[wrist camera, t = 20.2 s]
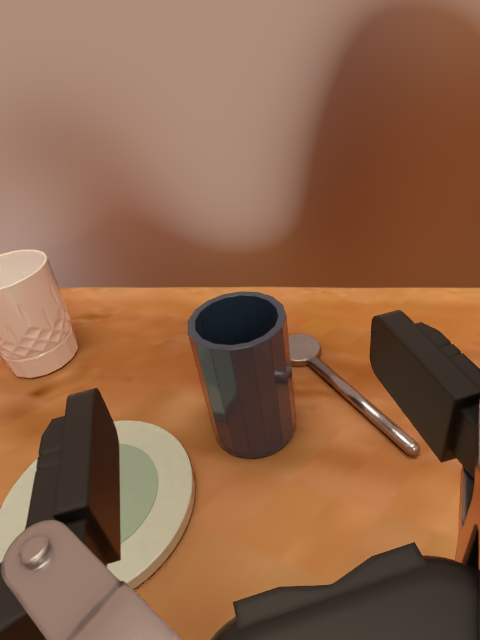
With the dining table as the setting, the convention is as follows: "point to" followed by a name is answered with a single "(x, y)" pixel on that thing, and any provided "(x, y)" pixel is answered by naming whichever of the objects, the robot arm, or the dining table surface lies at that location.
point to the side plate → (130, 500)
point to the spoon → (347, 390)
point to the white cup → (33, 316)
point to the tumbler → (245, 371)
